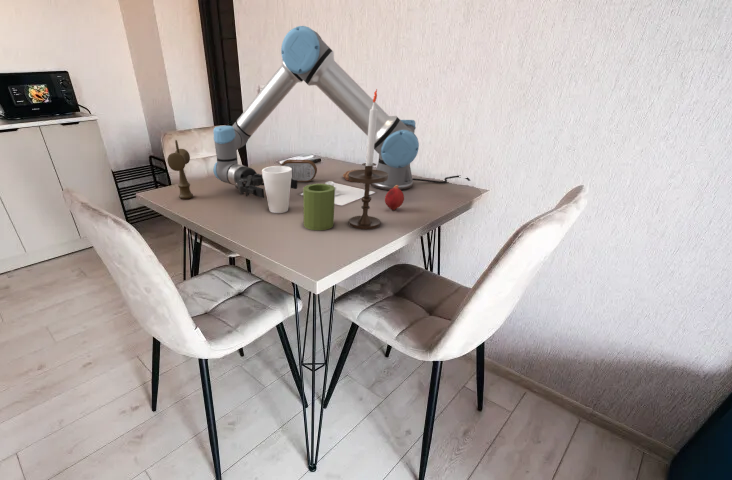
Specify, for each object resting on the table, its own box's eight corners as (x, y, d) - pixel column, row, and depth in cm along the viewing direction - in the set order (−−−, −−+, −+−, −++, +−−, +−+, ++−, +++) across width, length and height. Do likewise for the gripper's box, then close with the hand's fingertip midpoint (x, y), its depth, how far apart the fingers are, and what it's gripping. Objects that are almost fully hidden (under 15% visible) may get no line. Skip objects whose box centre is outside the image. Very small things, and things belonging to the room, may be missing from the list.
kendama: (174, 202, 134) (163, 142, 123) (181, 194, 142) (170, 137, 131) (191, 201, 134) (181, 142, 123) (197, 193, 142) (187, 137, 131)
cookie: (347, 182, 149) (347, 175, 147) (340, 176, 158) (340, 168, 156) (371, 181, 150) (372, 173, 148) (363, 174, 159) (363, 167, 157)
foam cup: (292, 214, 119) (291, 172, 112) (263, 215, 120) (261, 173, 113) (292, 204, 127) (291, 165, 120) (266, 205, 128) (263, 166, 121)
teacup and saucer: (329, 188, 142) (329, 178, 140) (346, 192, 137) (346, 181, 135) (314, 194, 137) (314, 182, 135) (330, 198, 132) (330, 186, 130)
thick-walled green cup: (334, 220, 114) (335, 183, 108) (332, 231, 107) (333, 192, 101) (306, 219, 115) (305, 183, 110) (301, 229, 108) (301, 192, 102)
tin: (316, 180, 153) (317, 158, 148) (316, 182, 150) (316, 160, 146) (280, 180, 154) (279, 159, 150) (279, 182, 152) (278, 161, 147)
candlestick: (361, 214, 117) (371, 87, 98) (390, 223, 110) (406, 87, 92) (338, 224, 111) (344, 89, 92) (367, 233, 104) (380, 90, 86)
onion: (391, 214, 117) (394, 188, 113) (380, 209, 121) (382, 184, 117) (406, 211, 119) (409, 185, 115) (394, 206, 123) (397, 181, 119)
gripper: (271, 181, 141) (309, 192, 128) (214, 195, 128) (248, 209, 114) (270, 160, 137) (309, 170, 124) (210, 172, 124) (246, 185, 110)
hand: (280, 189), depth 119 cm, fingers open, 13 cm apart
